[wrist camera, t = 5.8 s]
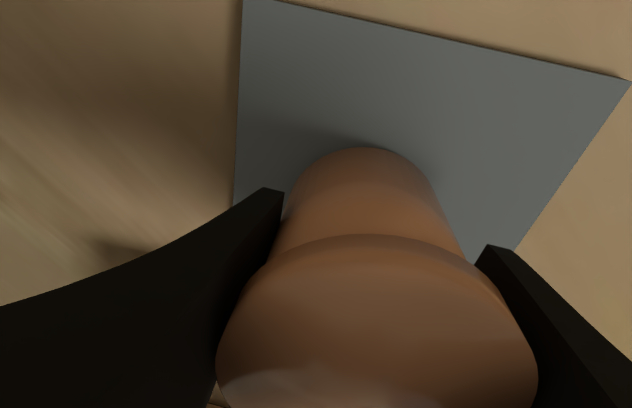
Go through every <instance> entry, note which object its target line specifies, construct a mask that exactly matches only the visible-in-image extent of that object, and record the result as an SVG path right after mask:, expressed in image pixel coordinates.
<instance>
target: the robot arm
mask: <svg viewBox="0 0 632 408" xmlns="http://www.w3.org/2000/svg"><path fill="white" fill-rule="evenodd" d="M284 195H285V192H282V191H278V190H274V189H270V188H266V187H262V188H260V189H258V190H257V191H255V192H254V193H252V194H251V195H249V196H248V197H246V198H245V199H243V200H242V201H240V202H239V203H237V204H236V205H234V206H233V207H231V208H230V209H228V210H227V211H225V212H223V213H222V214H220V215H218V216H217V217H215V218H214V219H212V220H210V221H209V222H207V223H205V224H204V225H202V226H200V227H198V228H197V229H195V230H193V231H191V232H189V233H187V234H186V235H184V236H182V237H180V238H178V239H177V240H175V241H173V242H171V243H169V244H167V245H165V246H163V247H161V248H159V249H157V250H154V251H152V252H150V253H148V254H145V255H143V256H141V257H139V258H136V259H134V260H132V261H130V262H127V263H125V264H122V265H120V266H117V267H115V268H112V269H109V270H107V271H104V272H101V273H99V274H96V275H93V276H91V277H88V278H85V279H83V280H80V281H77V282H74V283H72V284H69V285H66V286H63V287H61V288H58V289H55V290H51V291H48V292H45V293H42V294H39V295H36V296H33V297H30V298H27V299H23V300H20V301H17V302H13V303H10V304H7V305H3V306H0V408H206V406H207V403H208V401H209V398H210V396H211V393H212V391H213V388H214V386H215V383H216V381H217V377H216V372H215V357H216V353H217V349H218V345H219V342H220V340H221V337H222V335H223V332H224V330H225V328H226V325H227V323H228V320H229V318H230V315H231V313H232V310H233V308H234V305H235V303H236V301H237V299H238V296H239V294H240V292H241V290H242V289H243V287H244V286H245V284H246V283H247V282H248V280H249V279H250V278H251V277H252V276H253V275H254V274H255V273H256V272H257V271H258V270H259V269H260V268H261V267H262V266H263V265H265V264H266V261H267V258H268V255H269V252H270V249H271V246H272V244H273V241H274V238H275V235H276V232H277V229H278V227H279V224H280V221H281V214H282V208H283V201H284ZM474 266H475V267H476V268H478V269H479V270H480V271H481V272H482V273H484V274H485V275H486V276H487V277H488V278H489V279H490V280H491V282H492V283H493V284H494V285H495V286H496V287H497V288H498V290H499V292H500V293H501V295H502V297H503V298H504V300H505V302H506V303H507V305H508V307H509V309H510V311H511V313H512V315H513V316H514V318H515V320H516V322H517V324H518V326H519V328H520V329H521V331H522V333H523V335H524V337H525V339H526V341H527V342H528V344H529V346H530V348H531V350H532V352H533V355H534V358H535V361H536V364H537V369H538V386H537V393H536V396H535V398H534V401H533V403H532V406H531V407H530V408H632V362H631V361H630V360H629V359H628V358H627V357H626V356H625V355H624V354H622V353H621V352H620V351H619V350H618V349H617V348H616V347H615V346H613V345H612V344H611V343H610V342H609V341H608V340H607V339H606V338H605V337H603V336H602V335H601V334H600V333H599V332H598V331H597V330H596V329H595V328H594V327H593V326H592V325H591V324H589V323H588V322H587V321H586V320H585V319H584V318H583V317H582V316H581V315H580V314H579V313H578V312H577V311H576V310H575V309H574V308H573V307H572V306H571V305H570V304H569V303H567V302H566V301H565V300H564V299H563V298H562V297H561V296H560V295H559V294H558V293H557V292H556V291H555V290H554V289H553V288H552V287H551V286H550V285H549V284H548V283H547V282H546V281H545V280H544V279H543V278H542V277H541V276H540V275H539V274H538V273H536V272H535V271H534V270H533V269H532V268H531V267H530V266H529V265H528V264H527V263H526V262H525V261H524V260H522V259H521V258H520V257H519V256H518V255H517V254H515V253H514V252H513V251H512V250H510V249H506V248H502V247H498V246H495V245H491V244H487V245H486V246H485V248H484V249H483V251H482V253H481V254H480V256H479V257H478V259H477V261H476V262H475V264H474Z"/></svg>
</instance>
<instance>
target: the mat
mask: <svg viewBox="0 0 632 408" xmlns="http://www.w3.org/2000/svg"><path fill="white" fill-rule="evenodd" d="M631 84H632V82H631V81H628V80H626V79H623V78H618V77H614V76H609V75H605V74H601V73H596V72H592V71H587V70H583V69H579V68H574V67H570V66H565V65H561V64H556V63H552V62H548V61H543V60H539V59H534V58H530V57H526V56H521V55H517V54H512V53H508V52H504V51H499V50H495V49H490V48H486V47H481V46H477V45H473V44H468V43H464V42H459V41H455V40H451V39H446V38H442V37H437V36H433V35H429V34H424V33H420V32H415V31H411V30H406V29H402V28H398V27H393V26H389V25H384V24H380V23H376V22H371V21H367V20H362V19H358V18H354V17H349V16H345V15H340V14H336V13H331V12H327V11H323V10H318V9H314V8H309V7H305V6H301V5H296V4H292V3H287V2H283V1H279V0H243V10H242V30H241V50H240V71H239V91H238V112H237V132H236V152H235V173H234V193H233V206H234V205H236V204H237V203H239V202H240V201H242V200H243V199H245V198H246V197H248V196H249V195H251V194H252V193H254V192H255V191H257V190H258V189H260V188H262V187H266V188H270V189H274V190H278V191H282V192H285V195H284V201H283V208H282V214H281V218H282V215H283V212H284V209H285V207H286V204H287V201H288V198H289V195H290V192H291V190H292V188H293V186H294V184H295V182H296V181H297V179H298V178H299V176H300V175H301V174H302V173H303V172H304V170H305V169H306V168H308V167H309V166H310V165H311V164H312V163H314V162H315V161H317V160H318V159H320V158H321V157H323V156H326V155H328V154H330V153H332V152H336V151H339V150H342V149H347V148H354V147H371V148H378V149H383V150H387V151H390V152H393V153H396V154H398V155H400V156H402V157H404V158H406V159H407V160H409V161H410V162H412V163H413V164H414V165H415V166H416V167H418V168H419V169H420V170H421V171H422V173H423V174H424V175H425V176H426V177H427V179H428V181H429V182H430V184H431V186H432V188H433V190H434V192H435V194H436V196H437V199H438V201H439V203H440V205H441V207H442V209H443V211H444V213H445V216H446V218H447V220H448V222H449V224H450V226H451V228H452V230H453V233H454V235H455V237H456V239H457V241H458V243H459V245H460V248H461V250H462V252H463V254H464V256H465V258H466V260H467V261H468V262H469V263H471V264H473V265H474V264H475V262H476V261H477V259H478V257H479V256H480V254H481V253H482V251H483V249H484V248H485V246H486V245H487V244H491V245H495V246H498V247H502V248H506V249H510V250H512V251H513V252H514V250H515V249H516V247H517V246H518V245H519V243H520V242H521V240H522V239H523V237H524V236H525V235H526V233H527V232H528V230H529V229H530V227H531V226H532V225H533V223H534V222H535V220H536V219H537V218H538V216H539V215H540V213H541V212H542V210H543V209H544V208H545V206H546V205H547V203H548V202H549V201H550V199H551V198H552V196H553V195H554V193H555V192H556V191H557V189H558V188H559V186H560V185H561V183H562V182H563V181H564V179H565V178H566V176H567V175H568V174H569V172H570V171H571V169H572V168H573V166H574V165H575V164H576V162H577V161H578V159H579V158H580V157H581V155H582V154H583V152H584V151H585V149H586V148H587V147H588V145H589V144H590V142H591V141H592V140H593V138H594V137H595V135H596V134H597V132H598V131H599V130H600V128H601V127H602V125H603V124H604V122H605V121H606V120H607V118H608V117H609V115H610V114H611V113H612V111H613V110H614V108H615V107H616V105H617V104H618V103H619V101H620V100H621V98H622V97H623V96H624V94H625V93H626V91H627V90H628V88H629V87H630V86H631Z"/></svg>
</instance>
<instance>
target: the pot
mask: <svg viewBox="0 0 632 408" xmlns="http://www.w3.org/2000/svg"><path fill="white" fill-rule="evenodd" d="M215 372H216V377H217V382H218V385H219V387H220V390H221V392H222V394H223V396H224V398H225V399H226V401H227V402H228V404H229V405H230V407H231V408H530V407H531V406H532V403H533V401H534V398H535V396H536V393H537V386H538V369H537V364H536V361H535V358H534V355H533V352H532V350H531V348H530V346H529V344H528V342H527V341H526V339H525V337H524V335H523V333H522V331H521V329H520V328H519V326H518V324H517V322H516V320H515V318H514V316H513V315H512V313H511V311H510V309H509V307H508V305H507V303H506V302H505V300H504V298H503V297H502V295H501V293H500V292H499V290H498V288H497V287H496V286H495V285H494V284H493V283H492V282H491V280H490V279H489V278H488V277H487V276H486V275H485V274H484V273H482V272H481V271H480V270H479V269H478V268H476V267H475V266H474V265H473V264H471V263H469V262H468V261H467V260H466V258H465V256H464V254H463V252H462V250H461V248H460V245H459V243H458V241H457V239H456V237H455V235H454V233H453V230H452V228H451V226H450V224H449V222H448V220H447V218H446V216H445V213H444V211H443V209H442V207H441V205H440V203H439V201H438V199H437V196H436V194H435V192H434V190H433V188H432V186H431V184H430V182H429V181H428V179H427V177H426V176H425V175H424V174H423V173H422V171H421V170H420V169H419V168H418V167H416V166H415V165H414V164H413V163H412V162H410V161H409V160H407V159H406V158H404V157H402V156H400V155H398V154H396V153H393V152H390V151H387V150H383V149H378V148H371V147H354V148H347V149H342V150H339V151H336V152H332V153H330V154H328V155H326V156H323V157H321V158H320V159H318V160H317V161H315V162H314V163H312V164H311V165H310V166H309V167H308V168H306V169H305V170H304V172H303V173H302V174H301V175H300V176H299V178H298V179H297V181H296V182H295V184H294V186H293V188H292V190H291V192H290V195H289V198H288V201H287V204H286V207H285V209H284V212H283V215H282V218H281V221H280V224H279V227H278V229H277V232H276V235H275V238H274V241H273V244H272V246H271V249H270V252H269V255H268V258H267V261H266V264H265V265H263V266H262V267H261V268H260V269H259V270H258V271H257V272H256V273H255V274H254V275H253V276H252V277H251V278H250V279H249V280H248V282H247V283H246V284H245V286H244V287H243V289H242V290H241V292H240V294H239V296H238V299H237V301H236V303H235V305H234V308H233V310H232V313H231V315H230V318H229V320H228V323H227V325H226V328H225V330H224V332H223V335H222V337H221V340H220V342H219V345H218V349H217V353H216V357H215Z"/></svg>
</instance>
